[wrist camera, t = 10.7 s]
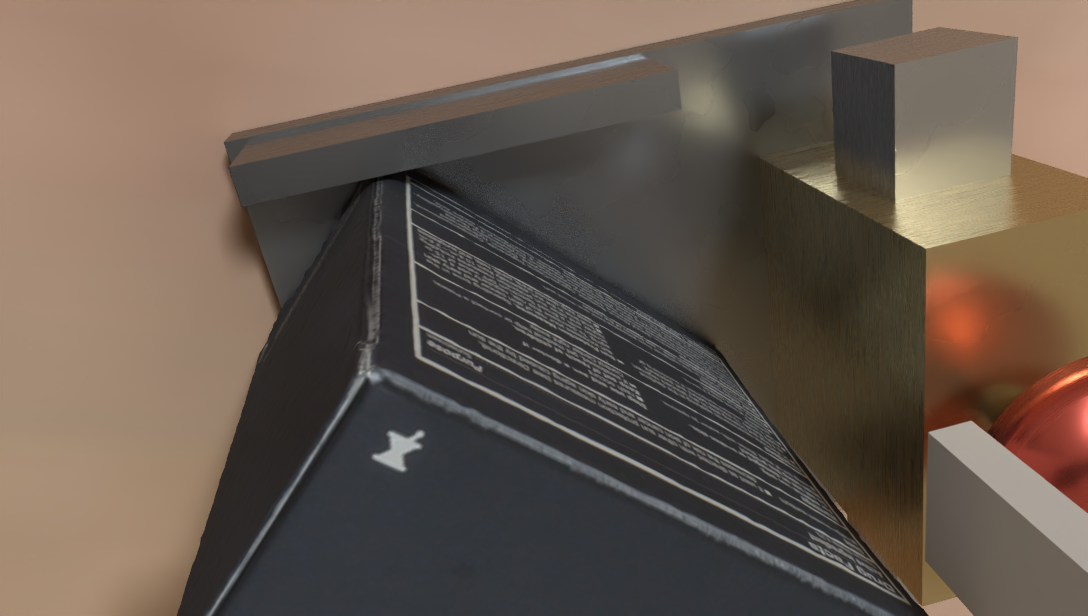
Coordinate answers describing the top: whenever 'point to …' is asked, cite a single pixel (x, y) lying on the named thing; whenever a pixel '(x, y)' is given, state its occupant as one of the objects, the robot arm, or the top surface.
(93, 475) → the top surface
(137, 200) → the top surface
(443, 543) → the small box
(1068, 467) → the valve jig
